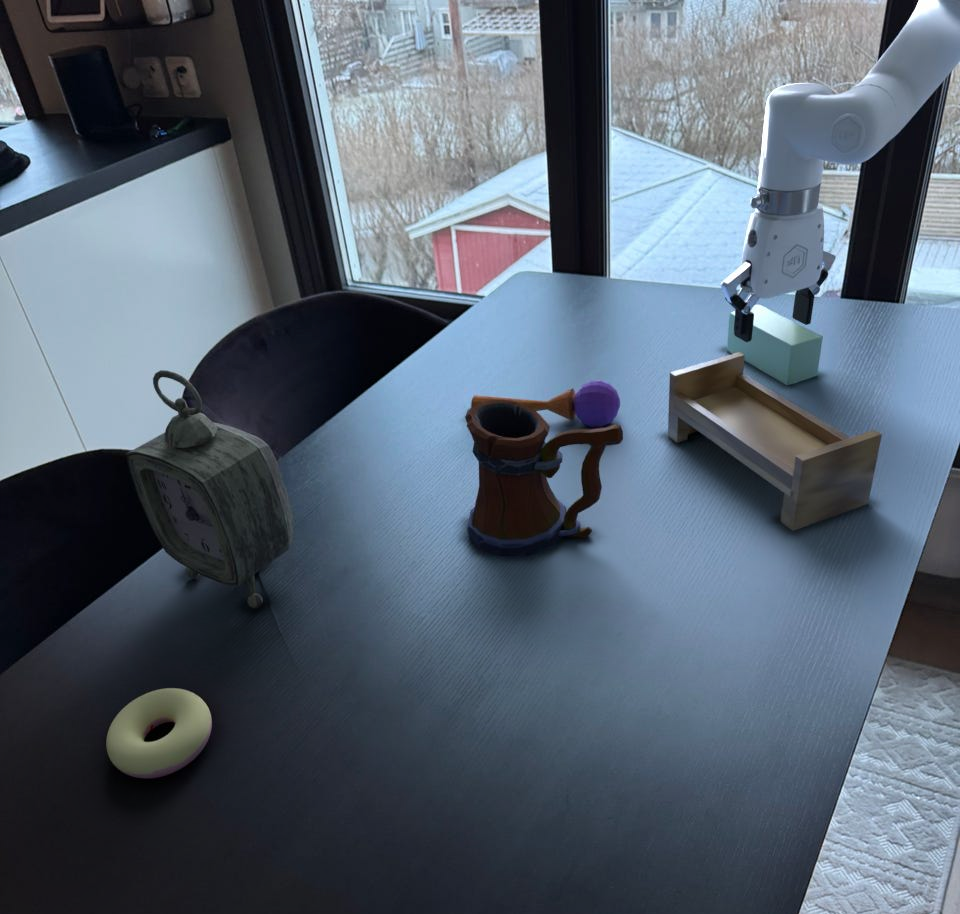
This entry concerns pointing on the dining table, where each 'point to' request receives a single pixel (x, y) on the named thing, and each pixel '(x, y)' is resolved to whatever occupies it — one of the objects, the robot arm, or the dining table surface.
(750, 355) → the bar
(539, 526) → the mug
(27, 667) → the dining table surface
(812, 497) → the rack
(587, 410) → the purple ball wooden maraca
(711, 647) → the dining table surface
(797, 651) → the dining table surface
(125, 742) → the donut
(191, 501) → the tabletop clock
